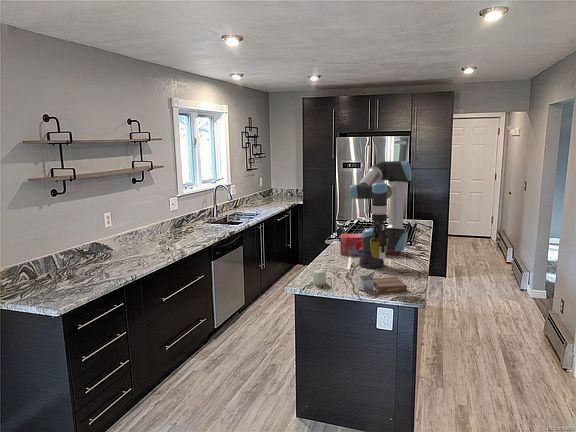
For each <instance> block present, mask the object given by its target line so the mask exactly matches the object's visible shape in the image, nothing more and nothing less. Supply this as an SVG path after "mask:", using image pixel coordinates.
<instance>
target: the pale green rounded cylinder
mask: <svg viewBox="0 0 576 432" xmlns="http://www.w3.org/2000/svg"><path fill="white" fill-rule="evenodd" d="M312 283H313V285H314V286H317V287H323V286H326V285H327V271H326V270H325V269H315V270H313V271H312Z"/></svg>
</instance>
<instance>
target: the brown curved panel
mask: <svg viewBox="0 0 576 432" xmlns="http://www.w3.org/2000/svg"><path fill="white" fill-rule="evenodd" d="M373 288H374V289H375V290H376V291H377V292H378V293H379V294H385V293H387V294H388V293H401V292H402V293H403V292H407V290H408V285H407V284H406V283H404V282H403V281H402V280H401V279H399V278H398V277H396V276H395V277H394V276H392V277H380V278H379V277H377V278H374V280H373Z"/></svg>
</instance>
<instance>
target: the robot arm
mask: <svg viewBox="0 0 576 432" xmlns="http://www.w3.org/2000/svg"><path fill="white" fill-rule="evenodd" d="M380 181H388V182H387V183H388V184H387V183H386V182H380ZM411 181H412V168H411V164H410V163H409V161H406V160H405V161H404V160H403V161H402V160H396V161H393V160H392V161H380V162H378V163H375V164H373V165H372V166H371V167H369V168H368V169H367V171H366V174H365V175H364V176H363V177H362V179H361V180H360V181H359V183H358V184H351V185H350V187H349V189H348V190H349V191H348V194H349V197H350V199H354V200H371V208H370V209H371V212H372V214H371V221H372V222H373V225H372V226H373V227H369V228H364V230H363V231H361V232H362V233H361V234H362V255H360V258H359V261H358V266H359V267H361V268H364V269H371V270H372V269H382V268H384V267H385V261H384V259H386V256H385V246H387V250H390V251H401V252H403V251H404V250H405V249H406V246H407V242H408V235H409V233H408V232H407V231H406V228H405V227H404V211H405V195H406V186H407V185H408V184H409V182H411ZM388 199H389V205H388ZM388 207H389V208H388ZM387 213H388V214H387ZM387 221H388V223H387V226H386V225H385V224H384V222H387ZM371 238H374V239H379V240H380V245H379V258H373V256H372V254H371V249H370V240H371ZM386 239H388V244H387V241H386Z"/></svg>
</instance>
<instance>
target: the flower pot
mask: <svg viewBox="0 0 576 432" xmlns="http://www.w3.org/2000/svg"><path fill="white" fill-rule="evenodd" d="M386 241H387V244H388V239H386ZM379 245H380V240H379V239H374V238H371V240H370V249H371V254H372V256H373V258H379ZM386 251H387V246H385V255H386Z"/></svg>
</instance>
